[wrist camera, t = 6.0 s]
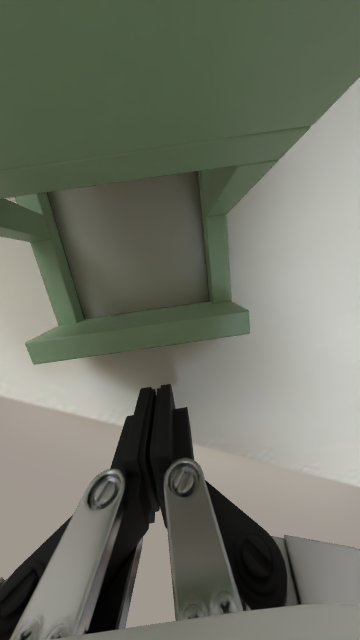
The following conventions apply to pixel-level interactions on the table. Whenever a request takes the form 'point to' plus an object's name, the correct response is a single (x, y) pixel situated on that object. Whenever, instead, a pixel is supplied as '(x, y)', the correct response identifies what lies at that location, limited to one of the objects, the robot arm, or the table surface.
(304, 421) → the table surface
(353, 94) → the table surface
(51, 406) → the table surface
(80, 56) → the chair
